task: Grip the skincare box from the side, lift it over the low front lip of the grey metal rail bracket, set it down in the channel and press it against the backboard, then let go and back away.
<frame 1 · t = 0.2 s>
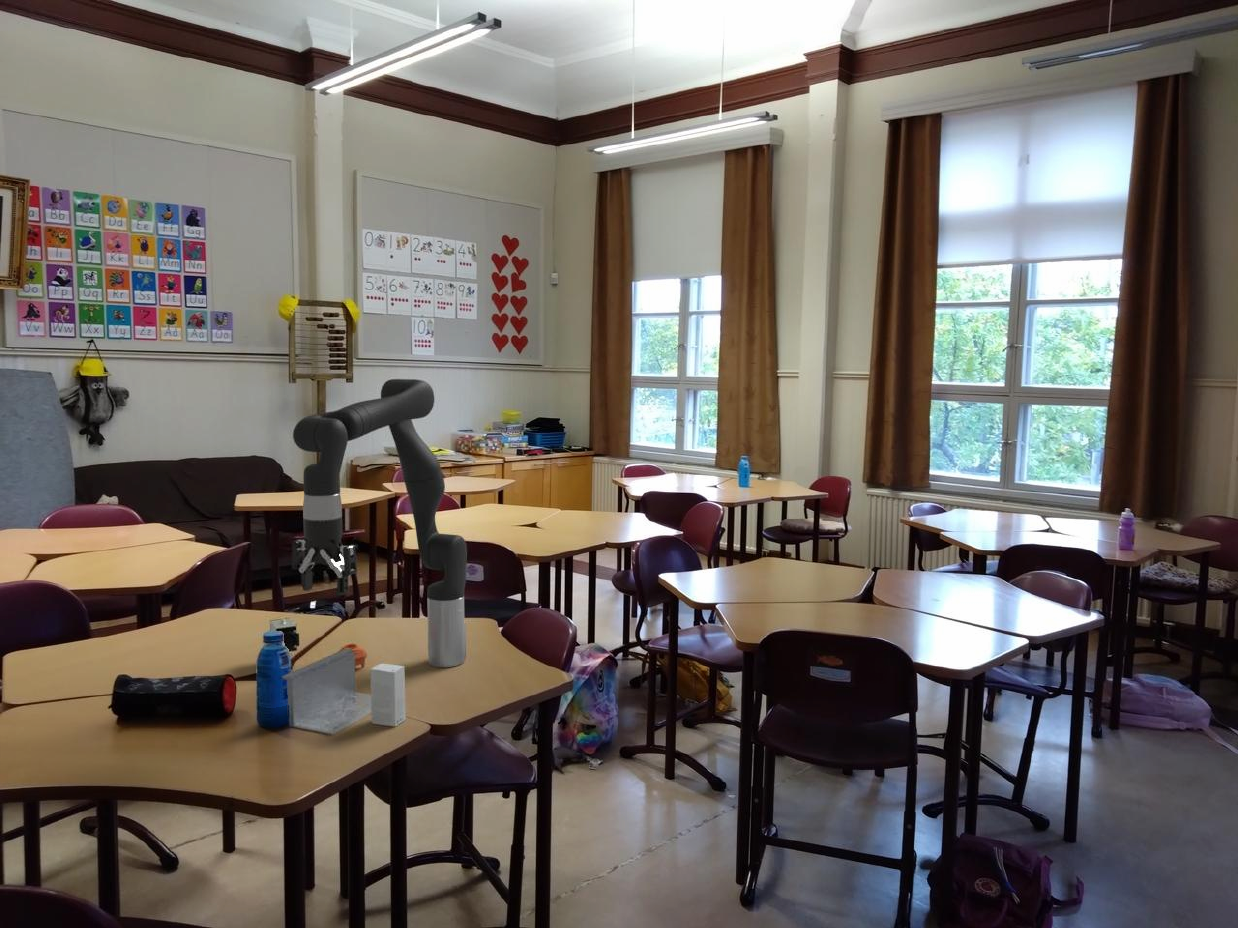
hand: (324, 592, 182), 29 cm above the table, tool pointing down, fingers open, 8 cm apart
pneumatic valve: (285, 665, 224), on the table
skincare box: (388, 722, 188), on the table
rail bracket: (346, 713, 192), on the table
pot: (350, 669, 221), on the table
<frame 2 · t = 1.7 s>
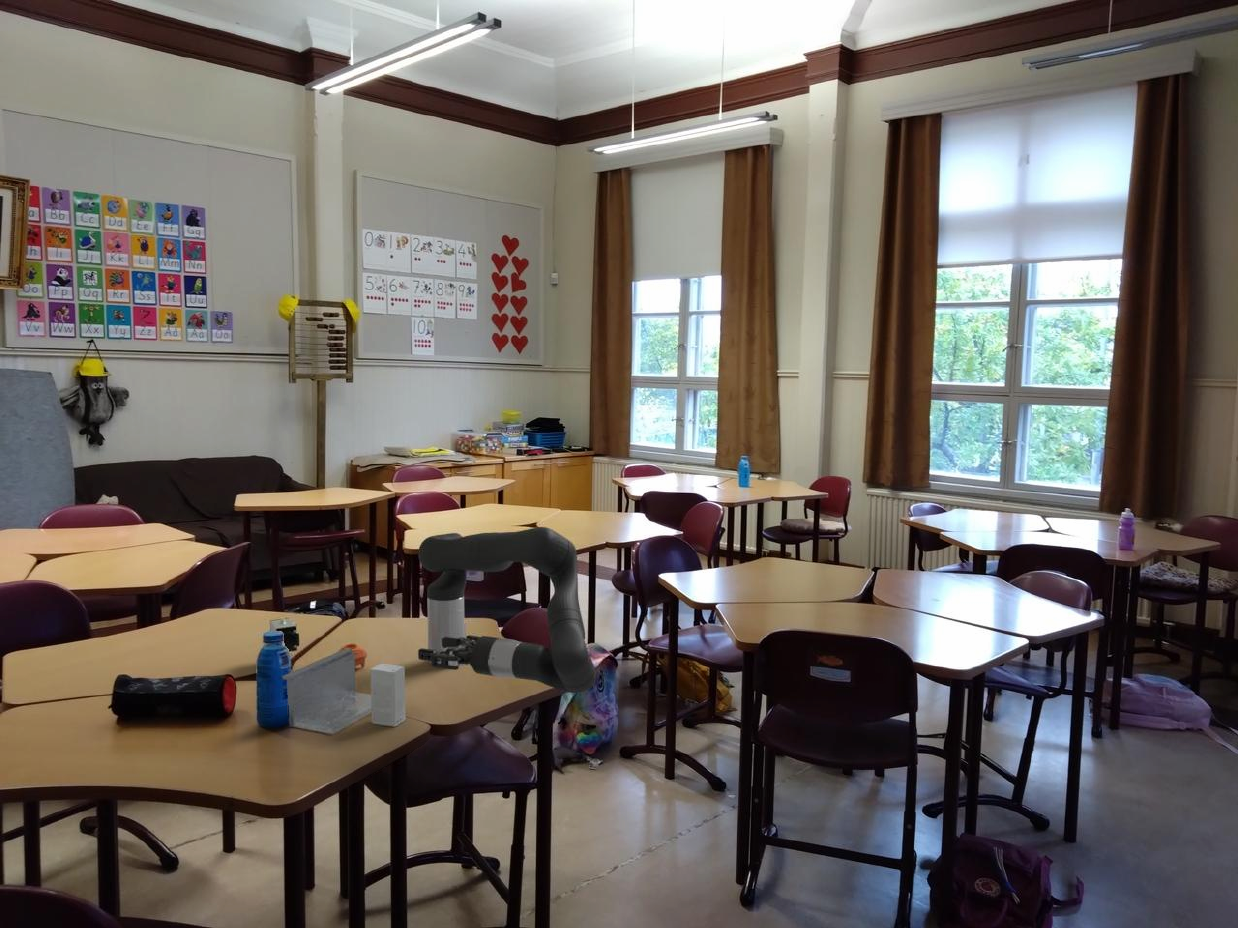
hand: (431, 647, 182), 18 cm above the table, tool horizontal, fingers open, 8 cm apart
nothing on the table moved.
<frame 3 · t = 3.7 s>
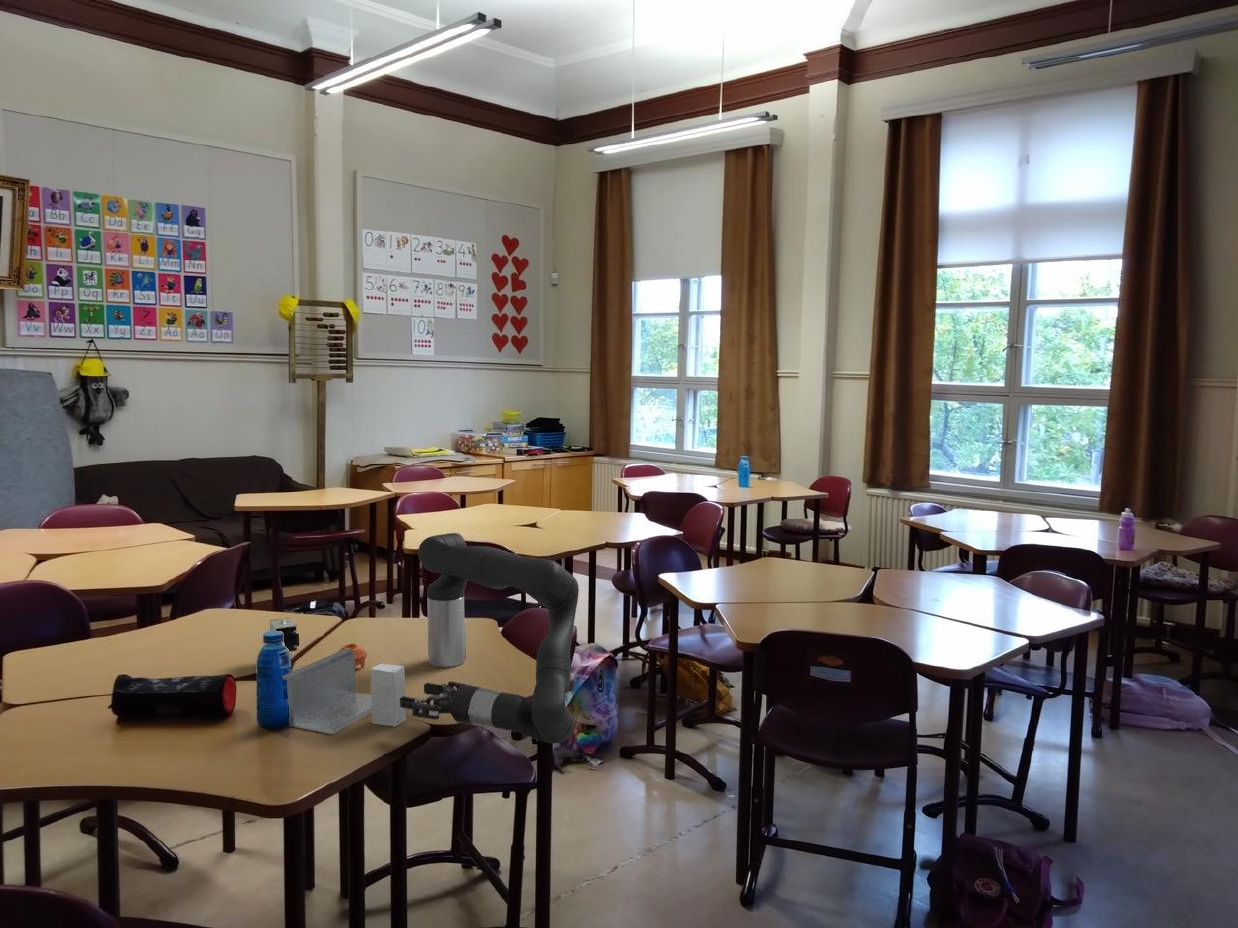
hand: (413, 694, 185), 7 cm above the table, tool horizontal, fingers open, 8 cm apart
nothing on the table moved.
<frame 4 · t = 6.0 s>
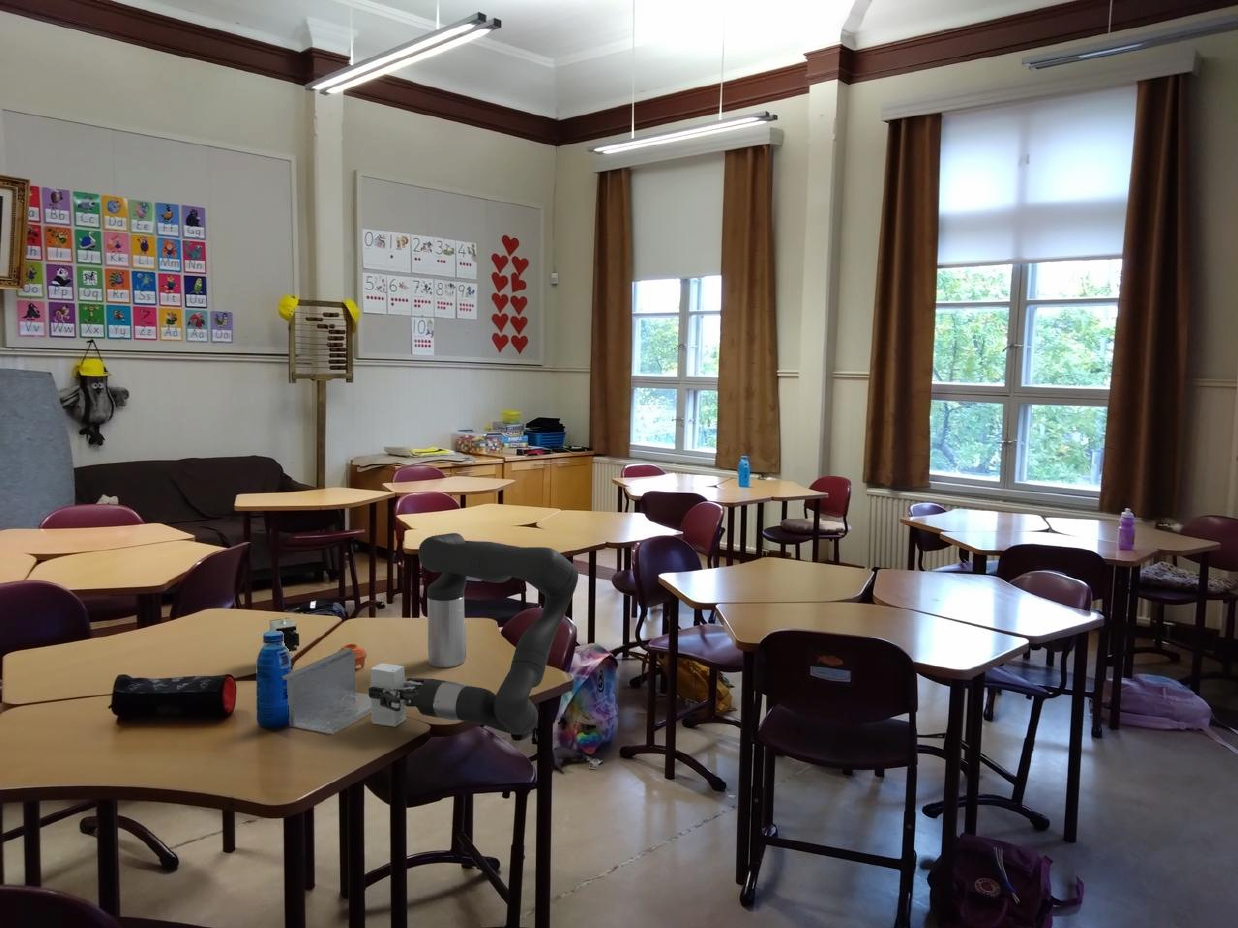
hand: (377, 688, 188), 7 cm above the table, tool horizontal, fingers closed on skincare box, 4 cm apart
skincare box: (388, 722, 188), on the table, touching gripper
everything else where it was.
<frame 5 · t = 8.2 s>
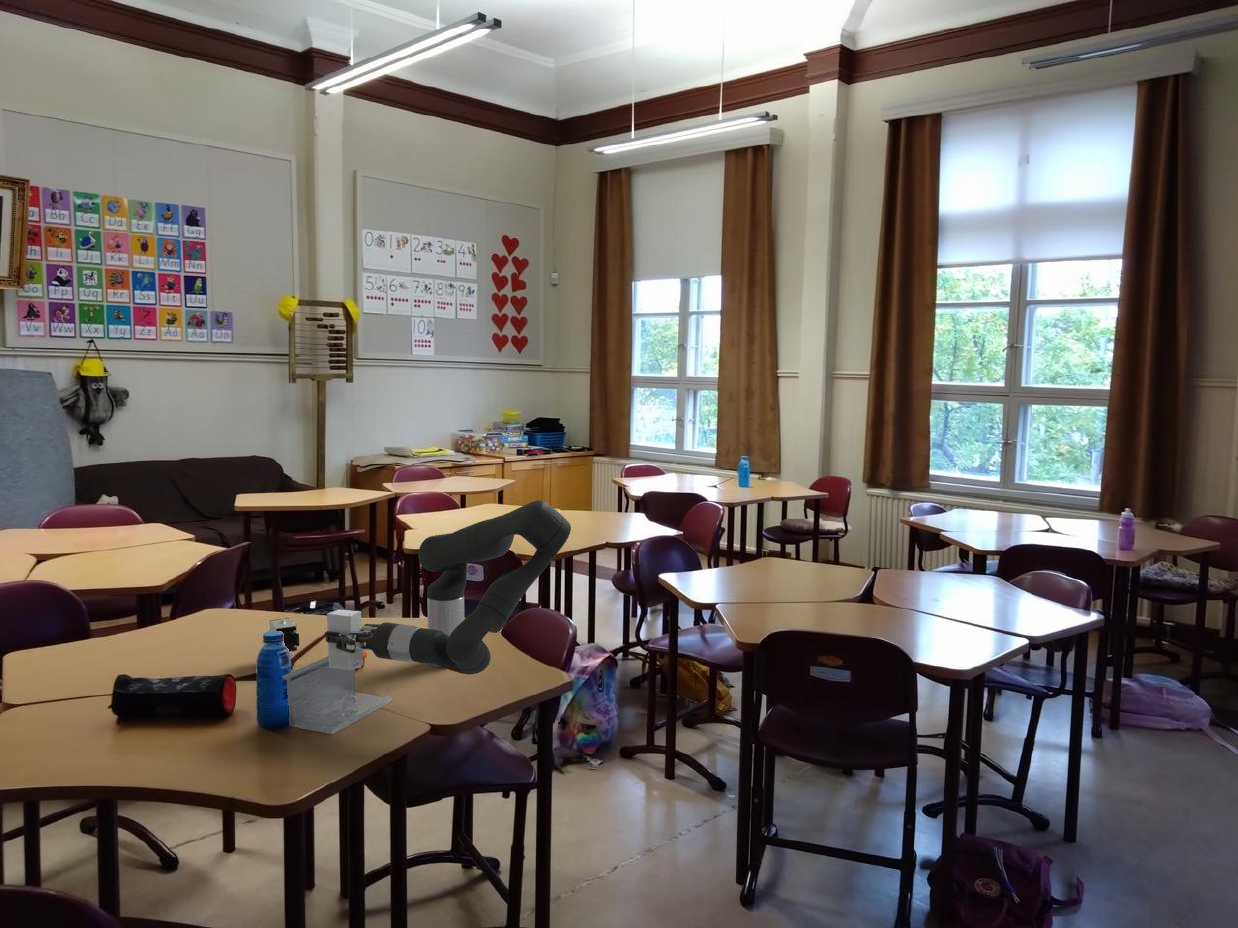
hand: (334, 633, 191), 18 cm above the table, tool horizontal, fingers closed on skincare box, 4 cm apart
skincare box: (345, 667, 191), point 10 cm above the table, touching gripper
everything else where it was.
when the fingers open (9 cm above the table, at t = 10.6 s): skincare box drops 1 cm, resting on rail bracket.
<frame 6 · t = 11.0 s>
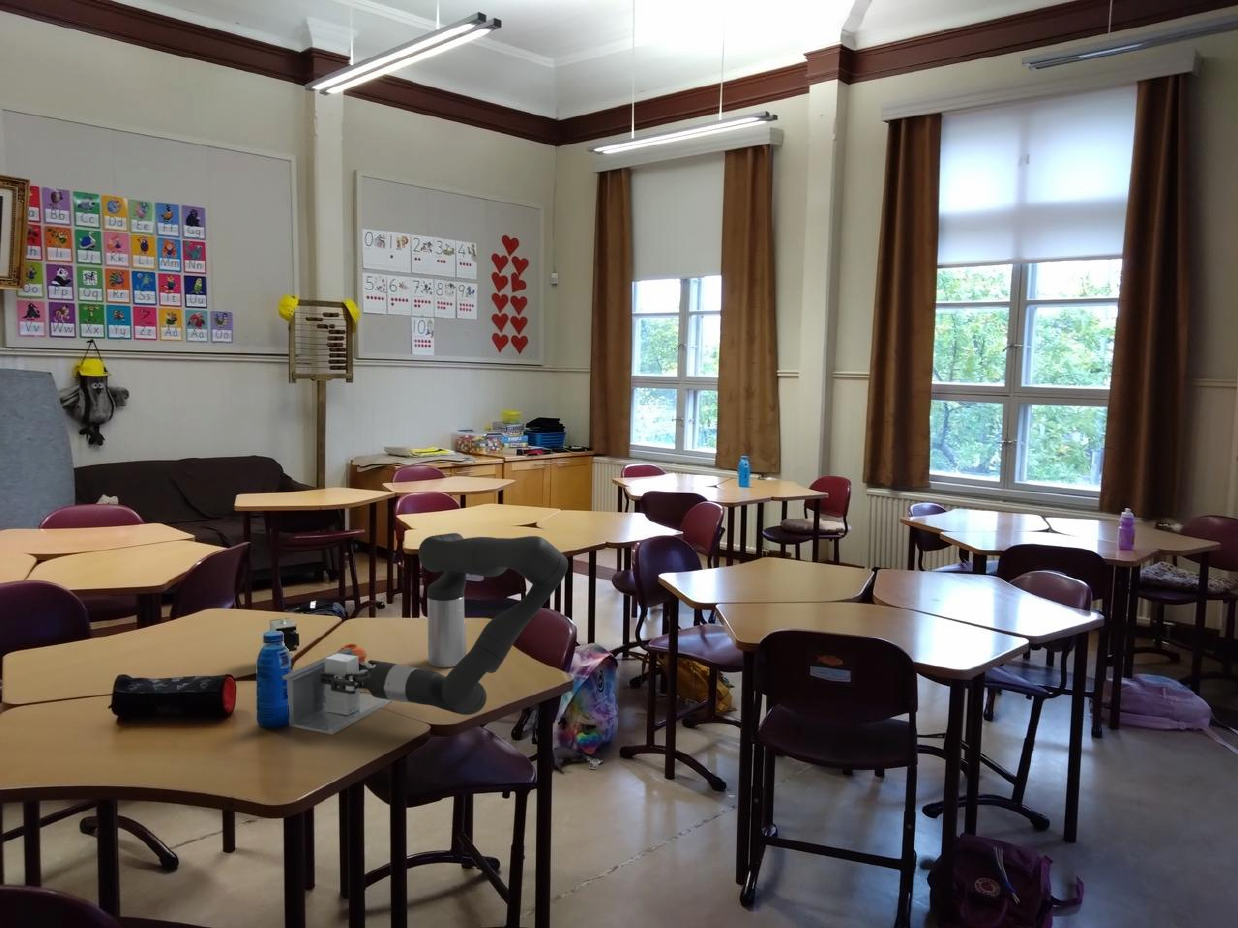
hand: (334, 671, 192), 9 cm above the table, tool horizontal, fingers open, 7 cm apart
skincare box: (343, 711, 192), resting on rail bracket
everything else where it was.
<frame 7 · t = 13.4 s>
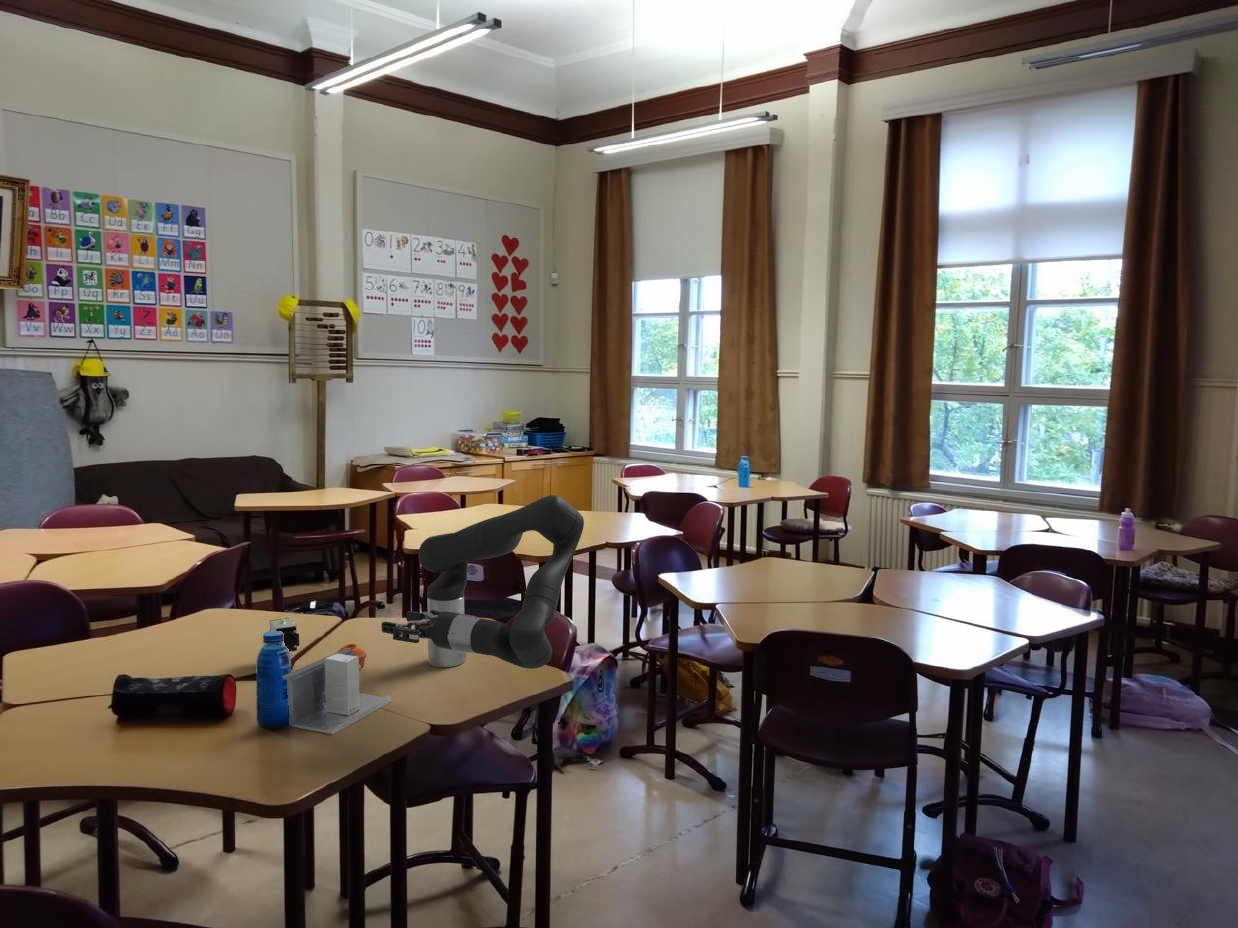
hand: (395, 621, 188), 21 cm above the table, tool horizontal, fingers open, 8 cm apart
nothing on the table moved.
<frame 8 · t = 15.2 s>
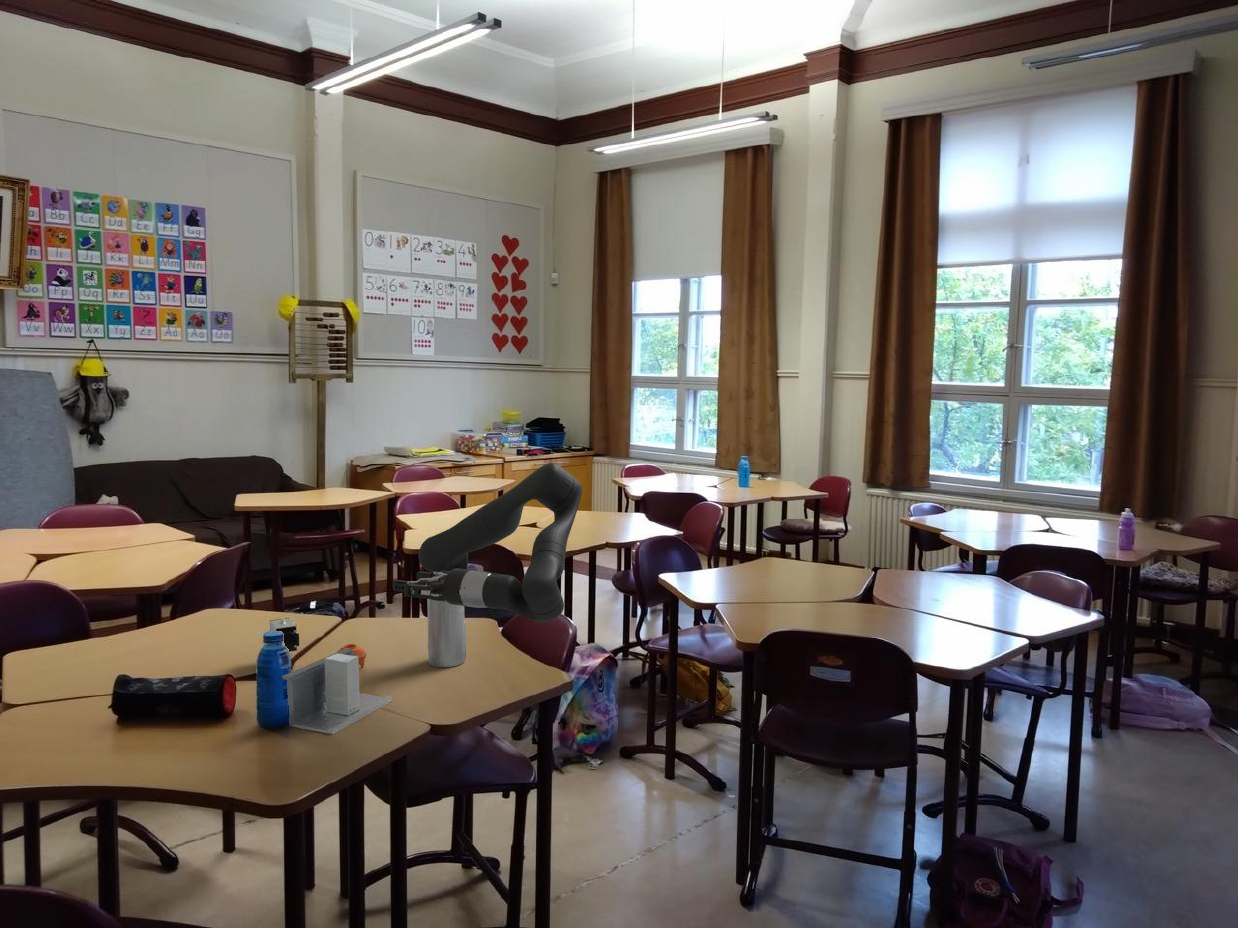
hand: (405, 580, 188), 30 cm above the table, tool horizontal, fingers open, 8 cm apart
nothing on the table moved.
at the end: skincare box inside the target area on the rail bracket (0.1 cm from its centre), point 0.4 cm above the rail bracket's base; skincare box tilted 0°; the gripper is holding nothing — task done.
